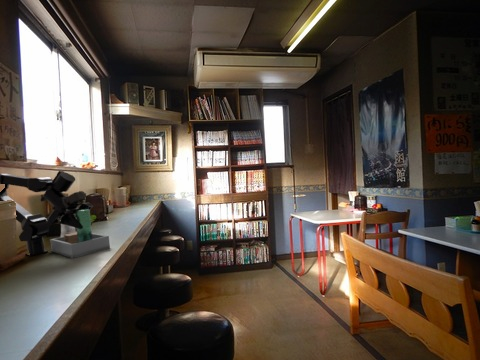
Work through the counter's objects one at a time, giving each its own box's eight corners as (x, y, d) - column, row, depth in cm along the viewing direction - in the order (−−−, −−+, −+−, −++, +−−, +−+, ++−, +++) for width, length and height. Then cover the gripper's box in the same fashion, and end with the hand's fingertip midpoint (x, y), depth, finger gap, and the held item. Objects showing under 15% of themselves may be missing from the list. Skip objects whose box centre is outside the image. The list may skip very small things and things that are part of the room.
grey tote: (51, 251, 120) (50, 239, 120) (86, 242, 131) (85, 231, 131) (72, 258, 106) (71, 244, 106) (110, 248, 117) (108, 235, 117)
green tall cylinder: (75, 245, 113) (72, 211, 112) (84, 241, 118) (82, 209, 117) (86, 245, 112) (83, 211, 111) (95, 241, 117) (92, 209, 116)
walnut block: (65, 246, 122) (64, 235, 122) (78, 243, 126) (76, 232, 126) (70, 248, 119) (68, 236, 119) (82, 244, 123) (81, 233, 123)
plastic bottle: (70, 243, 134) (65, 199, 133) (57, 243, 135) (52, 200, 134) (80, 239, 140) (76, 198, 139) (68, 239, 141) (64, 199, 141)
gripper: (51, 187, 105) (81, 215, 104) (86, 183, 124) (112, 208, 122) (34, 210, 107) (64, 238, 105) (72, 203, 125) (97, 227, 124)
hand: (86, 226), depth 114 cm, fingers closed on green tall cylinder, 5 cm apart
